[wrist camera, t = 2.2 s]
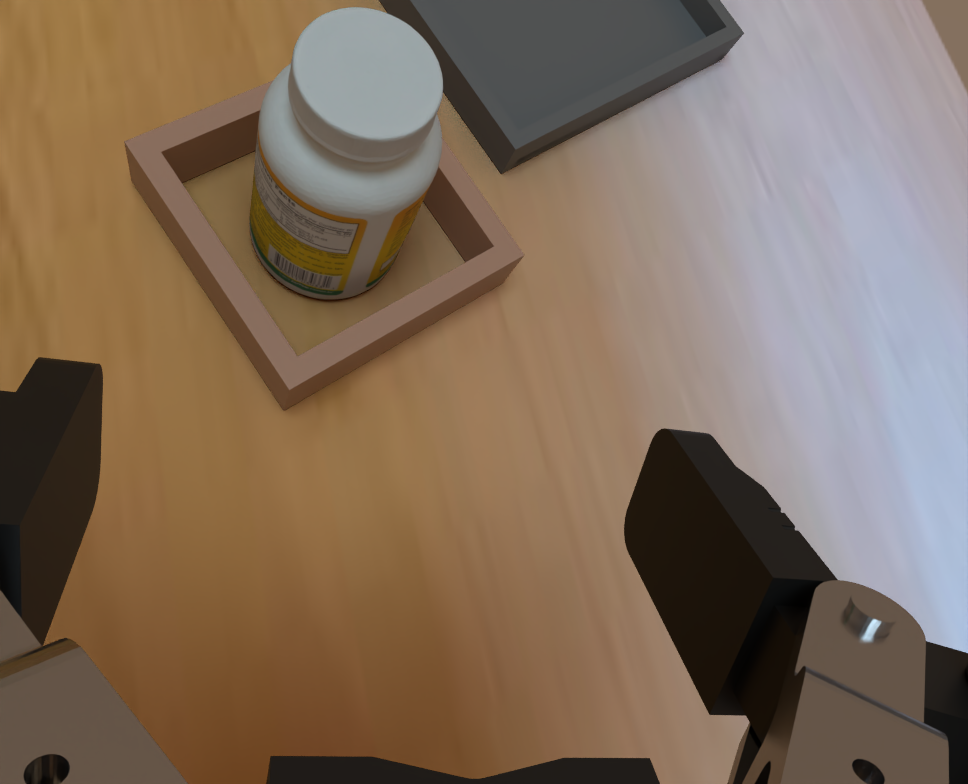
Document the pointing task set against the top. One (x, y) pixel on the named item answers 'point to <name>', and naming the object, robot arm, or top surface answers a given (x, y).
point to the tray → (561, 61)
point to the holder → (290, 378)
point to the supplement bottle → (345, 152)
